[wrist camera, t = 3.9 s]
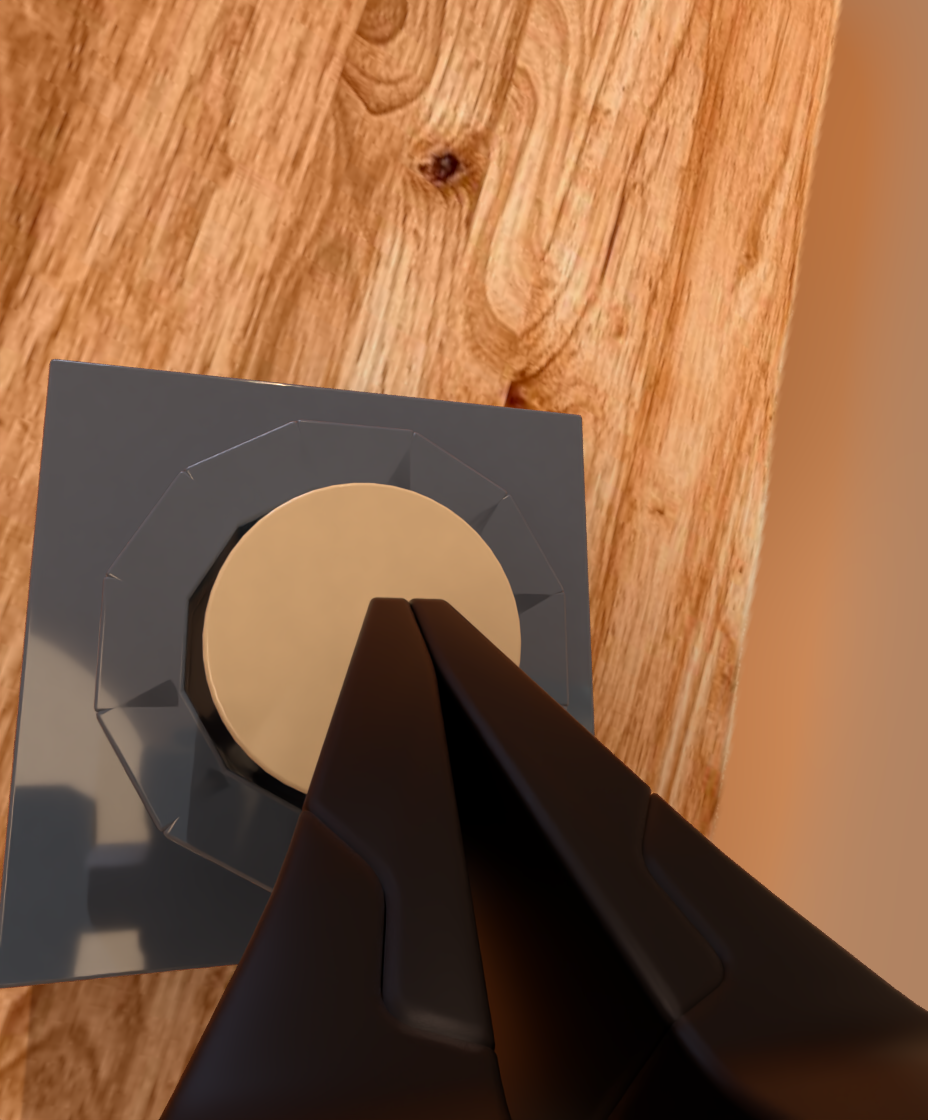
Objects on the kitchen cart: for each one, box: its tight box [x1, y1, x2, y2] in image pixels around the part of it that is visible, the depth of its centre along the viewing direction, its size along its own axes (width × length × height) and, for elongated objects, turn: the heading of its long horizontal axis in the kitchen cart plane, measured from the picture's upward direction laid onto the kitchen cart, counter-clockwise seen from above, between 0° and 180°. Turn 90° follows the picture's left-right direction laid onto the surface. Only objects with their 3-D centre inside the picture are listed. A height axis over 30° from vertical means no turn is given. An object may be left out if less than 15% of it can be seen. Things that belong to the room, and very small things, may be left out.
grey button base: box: [0, 359, 595, 989], centre depth 15 cm, size 10×10×7 cm
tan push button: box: [202, 483, 521, 794], centre depth 12 cm, size 4×4×2 cm
